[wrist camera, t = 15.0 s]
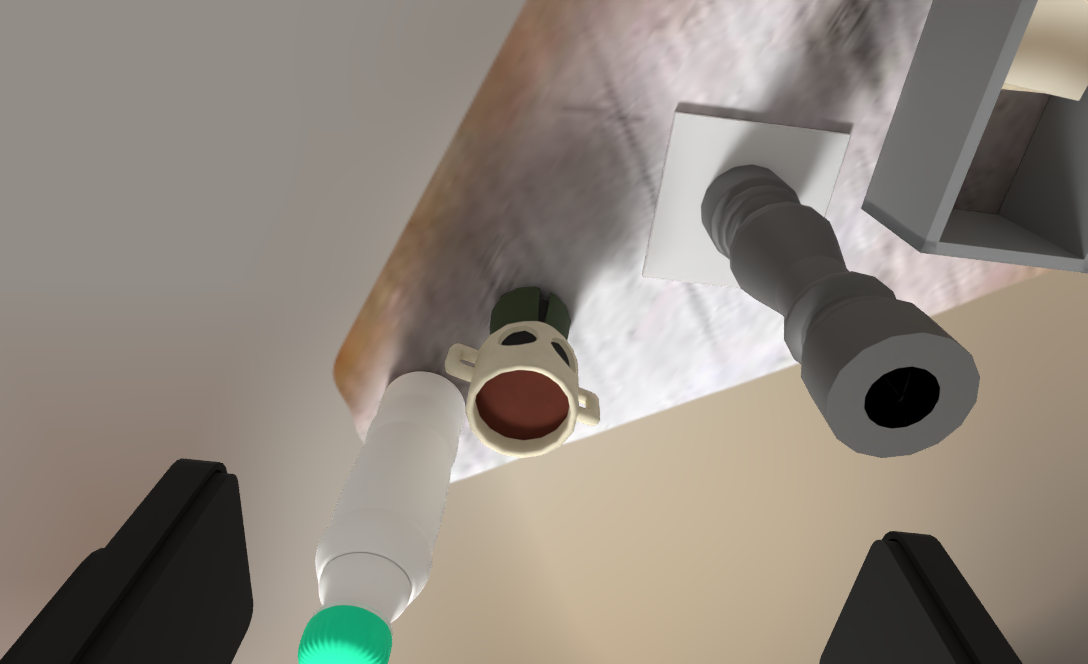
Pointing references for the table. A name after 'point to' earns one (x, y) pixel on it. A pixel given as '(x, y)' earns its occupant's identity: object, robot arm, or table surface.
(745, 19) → the table surface
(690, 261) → the mat
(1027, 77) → the upper offcut
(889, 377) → the candle holder
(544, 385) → the character mug
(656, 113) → the table surface
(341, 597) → the water bottle
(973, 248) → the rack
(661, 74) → the table surface
